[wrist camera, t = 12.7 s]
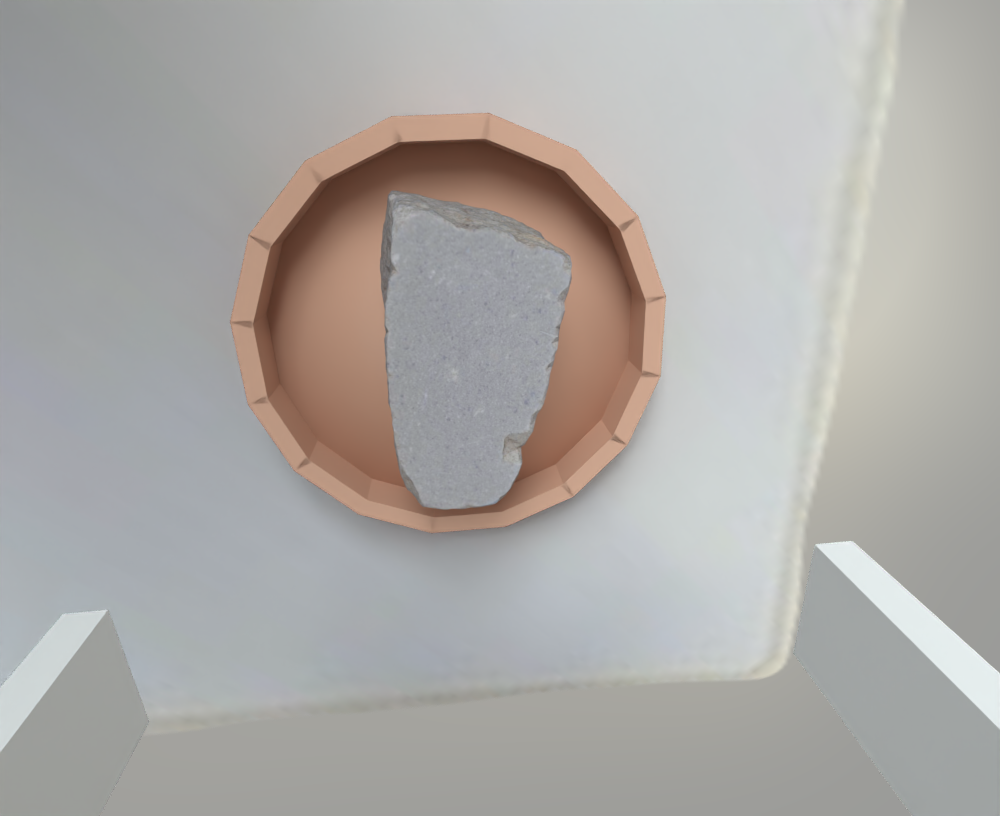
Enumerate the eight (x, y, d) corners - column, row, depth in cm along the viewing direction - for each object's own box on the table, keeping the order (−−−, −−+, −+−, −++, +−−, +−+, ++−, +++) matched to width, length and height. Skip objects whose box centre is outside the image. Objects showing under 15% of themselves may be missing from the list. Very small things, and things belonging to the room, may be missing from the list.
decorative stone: (521, 154, 28) (321, 208, 28) (551, 149, 22) (294, 219, 22) (577, 421, 34) (413, 468, 34) (615, 477, 28) (412, 536, 28)
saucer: (292, 514, 35) (278, 546, 32) (214, 128, 27) (187, 123, 24) (634, 486, 37) (651, 514, 34) (654, 112, 29) (679, 106, 26)
